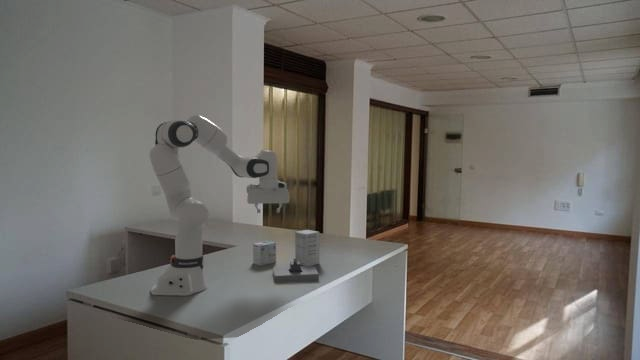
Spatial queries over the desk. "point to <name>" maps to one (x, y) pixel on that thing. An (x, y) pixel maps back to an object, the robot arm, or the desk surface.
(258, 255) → the light bulb box
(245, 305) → the desk surface
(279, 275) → the socket plate
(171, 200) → the robot arm
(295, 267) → the plug
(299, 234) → the supplement box
